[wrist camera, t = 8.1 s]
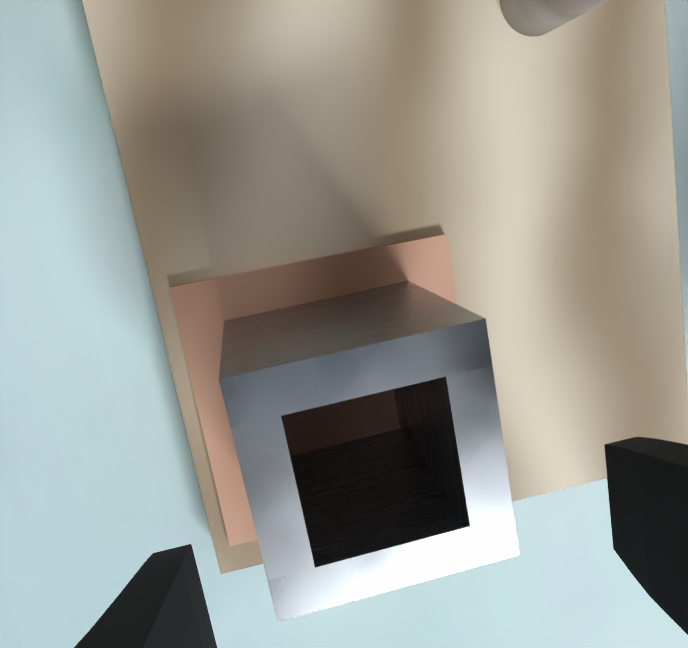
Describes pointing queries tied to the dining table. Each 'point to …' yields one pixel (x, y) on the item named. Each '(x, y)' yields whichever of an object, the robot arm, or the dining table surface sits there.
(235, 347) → the collar
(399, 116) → the stand
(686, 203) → the dining table surface
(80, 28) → the dining table surface
